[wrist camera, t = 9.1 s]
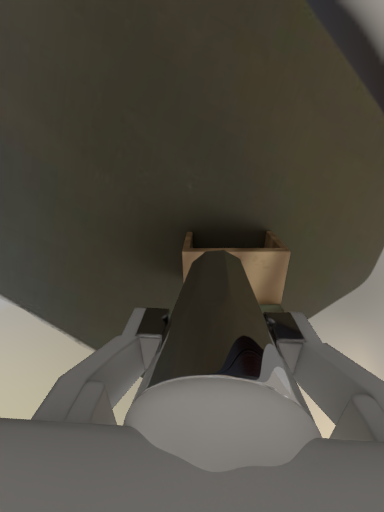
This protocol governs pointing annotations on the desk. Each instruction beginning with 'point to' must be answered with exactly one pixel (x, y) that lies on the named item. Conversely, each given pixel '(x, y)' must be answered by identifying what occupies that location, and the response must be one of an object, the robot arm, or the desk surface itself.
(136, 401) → the milkshake
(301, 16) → the desk surface
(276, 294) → the bench
